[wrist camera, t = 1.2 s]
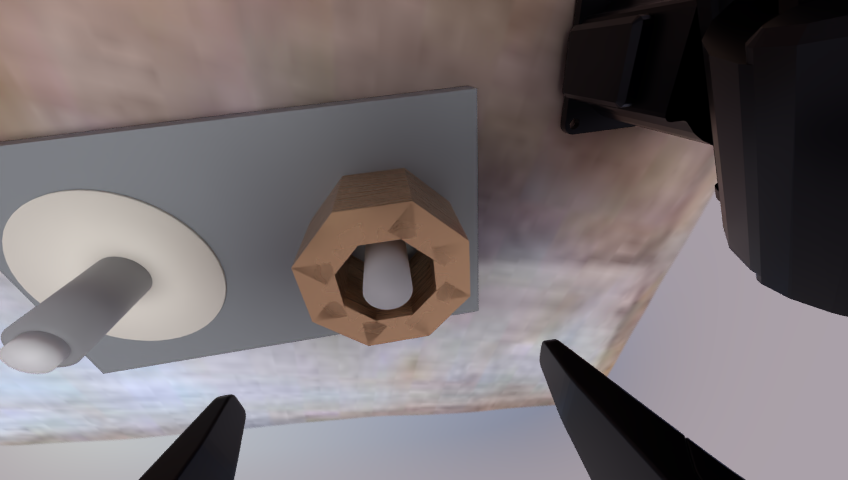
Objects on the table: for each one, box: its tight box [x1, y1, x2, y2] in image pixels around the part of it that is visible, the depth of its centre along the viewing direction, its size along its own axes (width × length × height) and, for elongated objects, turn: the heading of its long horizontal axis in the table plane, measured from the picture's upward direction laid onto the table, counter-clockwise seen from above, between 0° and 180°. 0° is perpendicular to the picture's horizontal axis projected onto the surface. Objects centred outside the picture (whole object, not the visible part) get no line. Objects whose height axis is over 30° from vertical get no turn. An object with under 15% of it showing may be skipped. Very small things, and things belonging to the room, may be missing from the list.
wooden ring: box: [291, 168, 470, 346], centre depth 15 cm, size 7×7×4 cm
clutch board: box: [0, 86, 478, 374], centre depth 14 cm, size 23×13×7 cm, turn 95°
